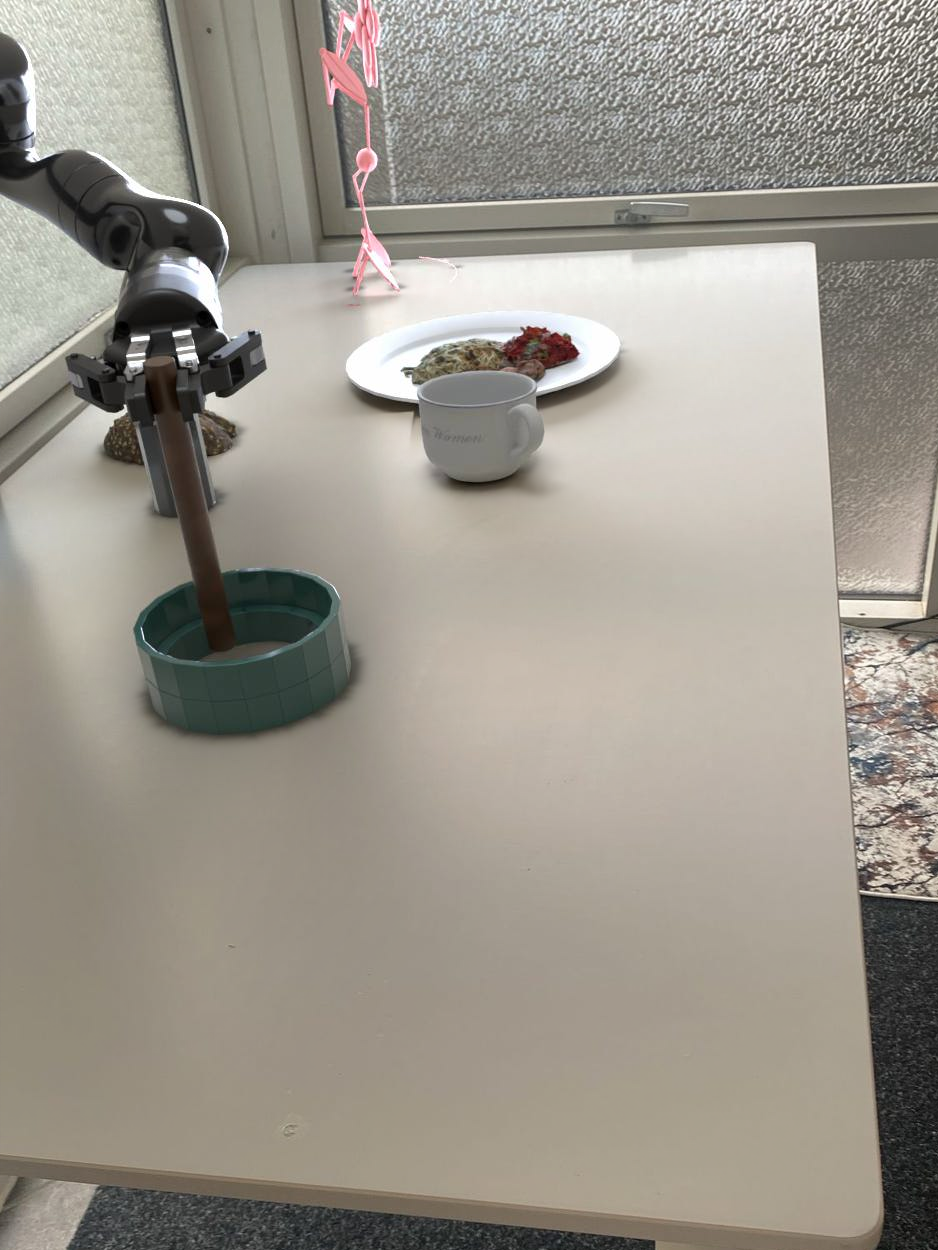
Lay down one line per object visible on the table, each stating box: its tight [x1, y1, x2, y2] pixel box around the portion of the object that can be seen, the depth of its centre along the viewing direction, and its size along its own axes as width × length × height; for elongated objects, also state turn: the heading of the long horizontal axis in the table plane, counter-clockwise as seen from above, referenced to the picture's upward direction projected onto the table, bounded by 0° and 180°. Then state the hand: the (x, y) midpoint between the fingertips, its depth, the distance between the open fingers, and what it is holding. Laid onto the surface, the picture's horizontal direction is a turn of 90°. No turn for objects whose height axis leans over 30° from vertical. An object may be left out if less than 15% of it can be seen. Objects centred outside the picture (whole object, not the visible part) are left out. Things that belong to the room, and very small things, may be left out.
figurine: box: [318, 0, 461, 307], centre depth 167 cm, size 15×26×35 cm, turn 5°
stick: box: [142, 356, 237, 653], centre depth 89 cm, size 2×2×20 cm
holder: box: [134, 413, 217, 518], centre depth 119 cm, size 5×5×9 cm
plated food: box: [345, 310, 621, 404], centre depth 146 cm, size 30×30×3 cm
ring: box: [132, 566, 352, 735], centre depth 94 cm, size 14×14×6 cm
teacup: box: [417, 371, 545, 483], centre depth 121 cm, size 14×11×8 cm
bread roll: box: [103, 408, 238, 466], centre depth 134 cm, size 13×12×5 cm
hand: (163, 409), depth 81 cm, fingers closed on stick, 2 cm apart
